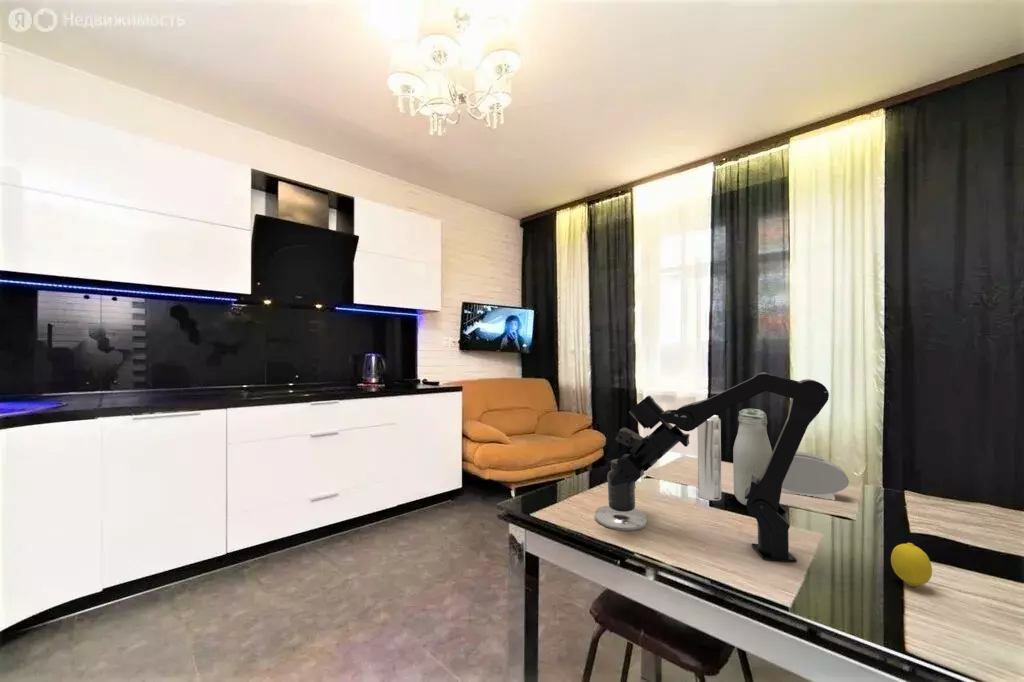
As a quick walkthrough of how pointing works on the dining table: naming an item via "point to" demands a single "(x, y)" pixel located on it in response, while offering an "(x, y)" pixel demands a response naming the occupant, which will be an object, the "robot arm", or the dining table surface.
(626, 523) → the metal plate
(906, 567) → the lemon
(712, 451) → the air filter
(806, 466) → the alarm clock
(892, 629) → the dining table surface
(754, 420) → the glass bottle
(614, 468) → the supplement bottle
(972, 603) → the dining table surface
